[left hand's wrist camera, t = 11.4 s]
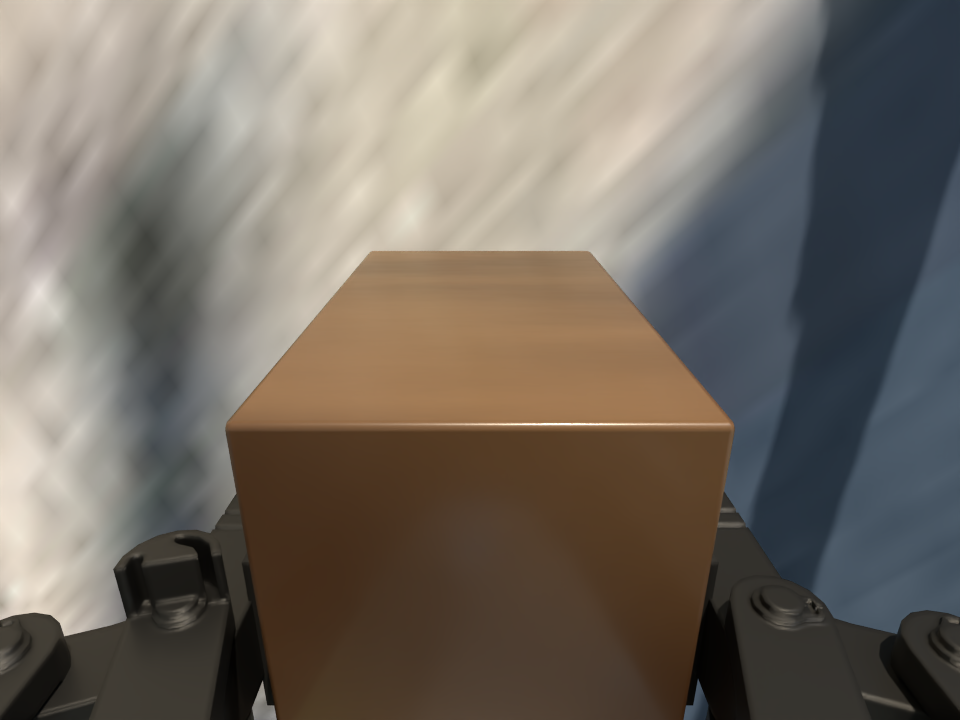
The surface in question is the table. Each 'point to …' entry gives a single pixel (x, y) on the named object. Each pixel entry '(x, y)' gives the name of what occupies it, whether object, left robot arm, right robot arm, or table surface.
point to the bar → (480, 497)
